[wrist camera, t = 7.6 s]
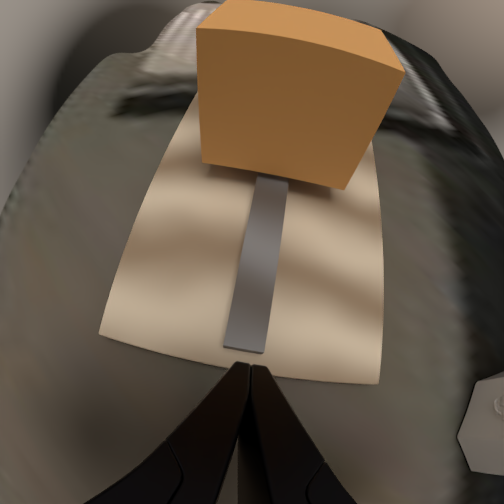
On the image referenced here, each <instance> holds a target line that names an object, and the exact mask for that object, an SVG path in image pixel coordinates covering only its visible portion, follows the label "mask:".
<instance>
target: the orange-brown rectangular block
mask: <svg viewBox="0 0 504 504" xmlns="http://www.w3.org/2000/svg"><path fill="white" fill-rule="evenodd" d="M196 45H197V80H198V104H199V123H200V140H201V156H202V163H208V164H214V165H221V166H227V167H233V168H239V169H245V170H251V171H256V172H261V173H267V174H272V175H277V176H282V177H287V178H292V179H296V180H301V181H306V182H310V183H315V184H319V185H323V186H328V187H332V188H336V189H340V190H345V188H346V186H347V185H348V183H349V181H350V179H351V177H352V176H353V174H354V172H355V170H356V168H357V166H358V165H359V163H360V161H361V159H362V157H363V155H364V153H365V152H366V150H367V148H368V146H369V144H370V142H371V140H372V138H373V136H374V135H375V133H376V131H377V129H378V127H379V125H380V123H381V121H382V119H383V117H384V115H385V113H386V111H387V109H388V107H389V105H390V103H391V101H392V99H393V97H394V95H395V93H396V91H397V89H398V87H399V85H400V83H401V81H402V79H403V77H404V75H405V71H404V69H403V67H402V65H401V63H400V61H399V60H398V58H397V56H396V54H395V53H394V51H393V49H392V47H391V46H390V44H389V43H388V41H387V39H386V38H385V36H384V34H383V33H382V31H381V30H379V29H376V28H373V27H371V26H368V25H365V24H362V23H359V22H355V21H352V20H349V19H346V18H342V17H338V16H335V15H331V14H327V13H323V12H319V11H314V10H310V9H305V8H300V7H295V6H290V5H284V4H277V3H271V2H263V1H254V0H227V1H225V2H224V3H223V4H222V5H221V6H220V7H218V8H217V9H216V10H215V11H214V12H213V13H212V14H211V15H209V16H208V17H207V18H206V19H205V20H204V21H203V22H202V23H201V24H200V25H199V26H198V27H197V28H196Z"/></svg>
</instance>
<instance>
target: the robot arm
mask: <svg viewBox="0 0 504 504" xmlns="http://www.w3.org/2000/svg"><path fill="white" fill-rule="evenodd" d="M237 438H238V504H357V503H356V502H355V501H354V499H353V498H352V497H351V496H350V495H349V493H348V492H347V491H346V490H345V489H344V487H343V486H342V485H341V483H340V482H339V480H338V479H337V478H336V476H335V475H334V473H333V472H332V470H331V469H330V467H329V466H328V464H327V463H326V462H324V461H325V460H324V458H323V457H322V455H321V454H320V452H319V450H318V449H317V447H316V446H315V444H314V443H313V441H312V439H311V438H310V436H309V435H308V433H307V432H306V430H305V428H304V427H303V425H302V423H301V422H300V420H299V419H298V417H297V415H296V414H295V412H294V410H293V409H292V407H291V406H290V404H289V402H288V401H287V399H286V397H285V396H284V394H283V392H282V391H281V389H280V387H279V386H278V384H277V382H276V380H275V379H274V377H273V375H272V374H271V372H270V370H269V369H268V367H267V366H264V365H257V364H252V365H250V364H249V363H245V362H240V361H236V362H234V363H233V364H232V366H231V367H230V368H229V369H228V370H227V371H226V373H225V374H224V375H223V376H222V377H221V378H220V380H219V381H218V382H217V383H216V384H215V385H214V387H213V388H212V389H211V390H210V391H209V392H208V393H207V394H206V396H205V397H204V398H203V399H202V400H201V401H200V402H199V403H198V405H197V406H196V407H195V408H194V409H193V410H192V411H191V412H190V413H189V415H188V416H187V417H186V418H185V419H184V420H183V421H182V422H181V423H180V424H179V425H178V426H177V428H176V429H175V430H174V431H173V432H172V433H171V434H170V435H169V436H168V437H167V438H166V441H163V442H162V443H161V444H160V445H159V446H158V447H157V448H156V449H155V450H154V451H153V452H152V453H151V454H150V455H149V456H148V457H147V458H146V459H145V460H144V461H143V462H142V463H141V464H140V465H138V466H137V467H136V468H134V469H133V470H132V471H131V472H129V473H128V474H127V475H125V476H124V477H123V478H121V479H120V480H119V481H117V482H116V483H114V484H113V485H111V486H110V487H108V488H107V489H105V490H104V491H102V492H101V493H99V494H98V495H96V496H95V497H93V498H92V499H90V500H88V501H87V502H85V503H84V504H217V501H218V498H219V495H220V492H221V489H222V486H223V483H224V480H225V477H226V474H227V471H228V468H229V464H230V461H231V458H232V455H233V452H234V448H235V445H236V442H237Z"/></svg>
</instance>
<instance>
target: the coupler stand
mask: <svg viewBox="0 0 504 504" xmlns="http://www.w3.org/2000/svg"><path fill="white" fill-rule="evenodd" d="M383 305H384V272H383V243H382V226H381V213H380V202H379V192H378V183H377V175H376V167H375V160H374V153H373V147H372V141H371V142H370V144H369V146H368V148H367V150H366V152H365V153H364V155H363V157H362V159H361V161H360V163H359V165H358V166H357V168H356V170H355V172H354V174H353V176H352V177H351V179H350V181H349V183H348V185H347V186H346V188H345V190H340V189H336V188H332V187H328V186H323V185H319V184H315V183H310V182H306V181H301V180H296V179H292V178H287V177H282V176H277V175H272V174H267V173H261V172H256V171H251V170H245V169H239V168H233V167H227V166H221V165H214V164H208V163H202V156H201V140H200V123H199V104H198V92H197V94H196V96H195V97H194V99H193V101H192V103H191V104H190V106H189V108H188V110H187V112H186V113H185V115H184V117H183V119H182V121H181V123H180V125H179V127H178V128H177V130H176V132H175V134H174V136H173V138H172V140H171V142H170V144H169V146H168V148H167V150H166V152H165V154H164V156H163V158H162V161H161V163H160V165H159V167H158V169H157V171H156V173H155V176H154V178H153V180H152V182H151V185H150V187H149V189H148V191H147V194H146V196H145V198H144V201H143V203H142V206H141V208H140V210H139V213H138V215H137V218H136V220H135V223H134V225H133V228H132V231H131V233H130V236H129V239H128V241H127V244H126V247H125V249H124V252H123V255H122V258H121V261H120V264H119V267H118V270H117V273H116V276H115V279H114V282H113V285H112V288H111V291H110V295H109V298H108V301H107V305H106V308H105V312H104V315H103V319H102V322H101V326H100V330H99V334H100V335H102V336H104V337H107V338H110V339H113V340H116V341H119V342H123V343H126V344H129V345H132V346H136V347H139V348H143V349H146V350H150V351H154V352H157V353H161V354H165V355H169V356H173V357H177V358H181V359H185V360H190V361H194V362H199V363H203V364H208V365H213V366H218V367H223V368H228V369H229V368H230V367H231V366H232V364H233V363H234V362H236V361H240V362H245V363H249V364H250V365H252V364H257V365H264V366H267V367H268V369H269V370H270V372H271V374H272V375H273V376H277V377H284V378H292V379H301V380H310V381H321V382H332V383H346V384H365V385H373V384H379V374H380V363H381V350H382V334H383Z"/></svg>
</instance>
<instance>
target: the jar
mask: <svg viewBox="0 0 504 504" xmlns="http://www.w3.org/2000/svg"><path fill="white" fill-rule="evenodd" d="M457 438H458V441H459V443H460V445H461V448H462V450H463V452H464V455H465V457H466V460H467V462H468V465H469V467H470V470H471V471H475V472H481V473H488V474H495V475H504V371H503V372H501V373H499V374H496V375H494V376H491V377H488V378H486V379H483V380H480V381H478V382H476V384H475V387H474V390H473V394H472V397H471V400H470V403H469V406H468V409H467V411H466V414H465V417H464V420H463V422H462V425H461V427H460V430H459V432H458V435H457Z"/></svg>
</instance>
